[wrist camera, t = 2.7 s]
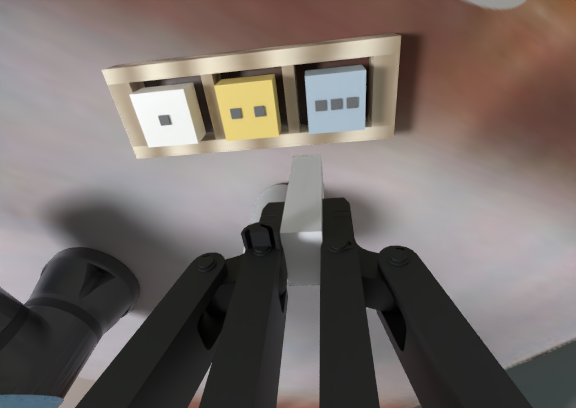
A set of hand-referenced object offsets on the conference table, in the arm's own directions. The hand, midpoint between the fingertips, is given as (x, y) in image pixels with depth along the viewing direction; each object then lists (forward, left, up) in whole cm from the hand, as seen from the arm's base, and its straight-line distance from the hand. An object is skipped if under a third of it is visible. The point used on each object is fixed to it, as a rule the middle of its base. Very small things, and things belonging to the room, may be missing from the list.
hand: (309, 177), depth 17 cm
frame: (-6, 0, -21) cm, 22 cm away
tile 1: (-15, 0, -19) cm, 24 cm away
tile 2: (-6, 0, -19) cm, 20 cm away
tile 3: (+2, 0, -19) cm, 19 cm away
